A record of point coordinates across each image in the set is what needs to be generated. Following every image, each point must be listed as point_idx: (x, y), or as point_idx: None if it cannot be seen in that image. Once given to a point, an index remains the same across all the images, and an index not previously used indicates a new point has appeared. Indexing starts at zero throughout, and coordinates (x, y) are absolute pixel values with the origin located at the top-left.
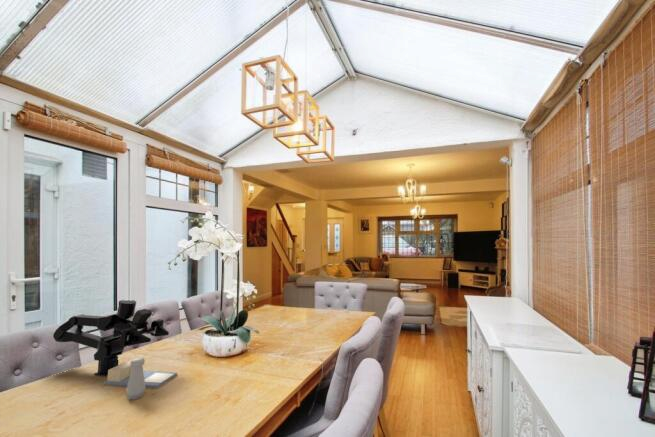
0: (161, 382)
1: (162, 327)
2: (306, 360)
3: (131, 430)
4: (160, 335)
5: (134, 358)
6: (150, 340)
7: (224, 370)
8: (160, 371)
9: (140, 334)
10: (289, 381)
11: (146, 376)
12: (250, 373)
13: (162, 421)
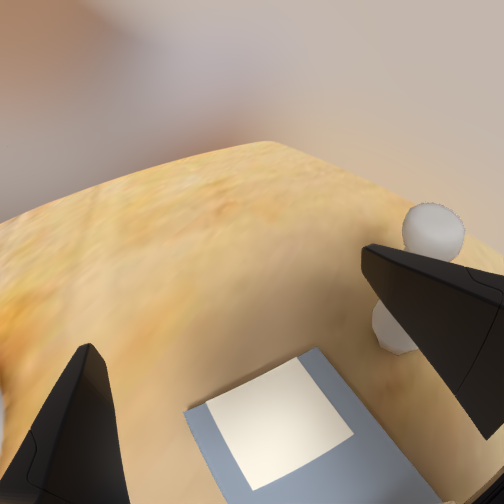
0: (291, 360)
1: (23, 461)
2: (17, 229)
3: (412, 204)
4: (122, 486)
5: (453, 227)
6: (364, 259)
7: (85, 308)
8: (223, 493)
9: (490, 291)
10: (110, 188)
11: (308, 487)
12: (89, 248)
13: (359, 197)
